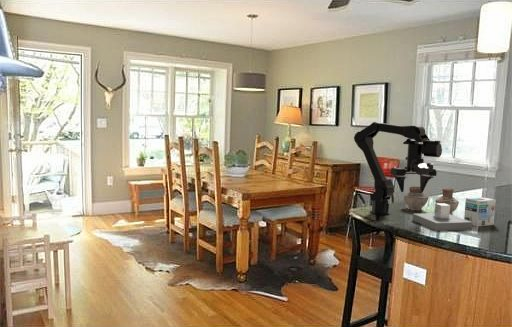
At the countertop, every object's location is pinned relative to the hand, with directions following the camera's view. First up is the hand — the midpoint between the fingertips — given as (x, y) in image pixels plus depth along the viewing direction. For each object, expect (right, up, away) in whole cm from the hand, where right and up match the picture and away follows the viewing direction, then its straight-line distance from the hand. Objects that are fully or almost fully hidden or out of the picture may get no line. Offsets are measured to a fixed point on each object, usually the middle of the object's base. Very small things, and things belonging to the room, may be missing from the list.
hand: (412, 191), depth 182 cm
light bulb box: (+27, -13, -3) cm, 30 cm away
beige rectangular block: (+9, -13, -7) cm, 17 cm away
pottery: (+15, -11, +19) cm, 26 cm away
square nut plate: (+9, -13, -7) cm, 18 cm away
